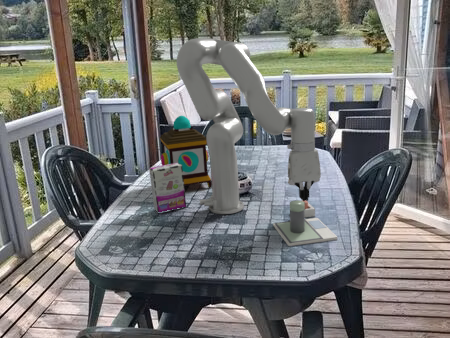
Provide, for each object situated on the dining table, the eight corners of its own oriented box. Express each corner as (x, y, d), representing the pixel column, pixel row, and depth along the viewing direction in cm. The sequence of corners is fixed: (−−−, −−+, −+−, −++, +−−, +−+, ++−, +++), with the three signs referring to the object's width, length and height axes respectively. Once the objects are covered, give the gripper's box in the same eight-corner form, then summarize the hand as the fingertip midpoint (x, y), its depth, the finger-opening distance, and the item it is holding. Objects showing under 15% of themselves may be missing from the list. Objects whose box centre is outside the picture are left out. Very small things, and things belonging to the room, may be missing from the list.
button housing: (297, 218, 147) (297, 211, 146) (292, 211, 153) (291, 204, 152) (315, 216, 148) (315, 208, 147) (308, 209, 154) (308, 202, 153)
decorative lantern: (203, 176, 200) (198, 110, 192) (216, 188, 182) (211, 116, 174) (159, 182, 195) (153, 114, 186) (168, 196, 176) (161, 121, 168)
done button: (300, 212, 148) (300, 204, 147) (297, 209, 151) (297, 201, 150) (309, 211, 149) (309, 203, 148) (306, 208, 152) (306, 200, 151)
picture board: (288, 246, 128) (288, 243, 127) (273, 225, 142) (273, 223, 142) (337, 239, 130) (337, 236, 130) (317, 219, 145) (317, 217, 145)
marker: (293, 234, 133) (292, 206, 131) (288, 228, 137) (287, 201, 135) (306, 232, 134) (306, 204, 131) (301, 226, 138) (301, 199, 136)
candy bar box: (181, 204, 167) (177, 162, 162) (186, 207, 162) (183, 165, 158) (153, 210, 162) (148, 167, 157) (157, 214, 158) (153, 170, 153)
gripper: (284, 151, 139) (286, 206, 144) (329, 146, 141) (329, 200, 146) (277, 146, 146) (279, 198, 151) (320, 141, 149) (321, 193, 153)
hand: (304, 199), depth 149 cm, fingers closed
